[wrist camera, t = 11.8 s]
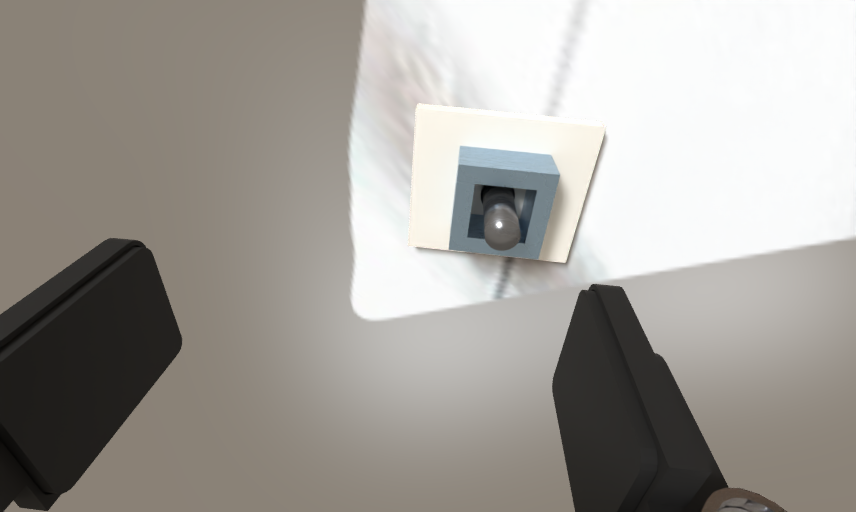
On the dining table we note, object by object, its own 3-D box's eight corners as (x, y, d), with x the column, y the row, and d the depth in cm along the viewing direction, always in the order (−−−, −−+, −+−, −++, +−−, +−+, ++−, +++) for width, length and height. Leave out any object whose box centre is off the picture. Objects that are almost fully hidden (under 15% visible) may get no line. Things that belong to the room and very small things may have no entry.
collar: (551, 154, 33) (560, 174, 30) (532, 233, 37) (538, 259, 33) (459, 145, 33) (458, 164, 30) (450, 225, 37) (448, 249, 34)
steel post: (517, 178, 34) (526, 220, 28) (510, 209, 36) (518, 254, 30) (483, 175, 34) (485, 215, 28) (478, 205, 36) (479, 250, 30)
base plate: (601, 121, 33) (606, 127, 31) (562, 253, 39) (565, 262, 38) (417, 103, 33) (415, 108, 32) (409, 237, 40) (407, 246, 38)
